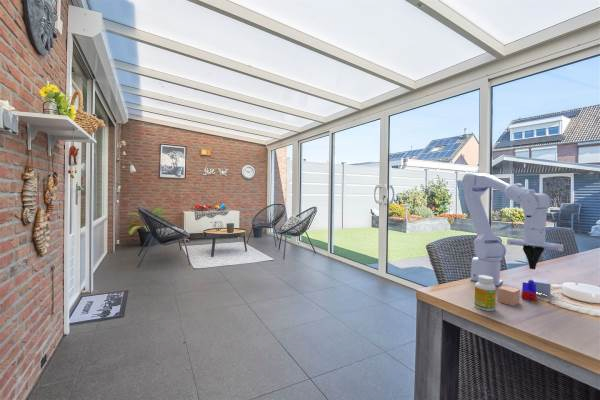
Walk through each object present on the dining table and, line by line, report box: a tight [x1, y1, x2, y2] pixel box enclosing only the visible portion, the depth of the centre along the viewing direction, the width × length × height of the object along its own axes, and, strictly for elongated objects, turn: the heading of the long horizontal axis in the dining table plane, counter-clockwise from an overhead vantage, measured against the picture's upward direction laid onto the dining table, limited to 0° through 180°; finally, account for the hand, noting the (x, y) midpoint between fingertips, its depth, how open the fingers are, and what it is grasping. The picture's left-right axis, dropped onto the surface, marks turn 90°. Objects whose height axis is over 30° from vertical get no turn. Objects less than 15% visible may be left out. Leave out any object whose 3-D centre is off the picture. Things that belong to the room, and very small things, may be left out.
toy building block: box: [521, 279, 537, 302], centre depth 96 cm, size 4×4×8 cm
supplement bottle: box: [473, 275, 497, 312], centre depth 88 cm, size 5×5×10 cm
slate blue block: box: [531, 277, 552, 297], centre depth 101 cm, size 4×4×4 cm
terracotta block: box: [496, 285, 521, 307], centre depth 93 cm, size 4×4×4 cm
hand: (532, 268), depth 97 cm, fingers closed
